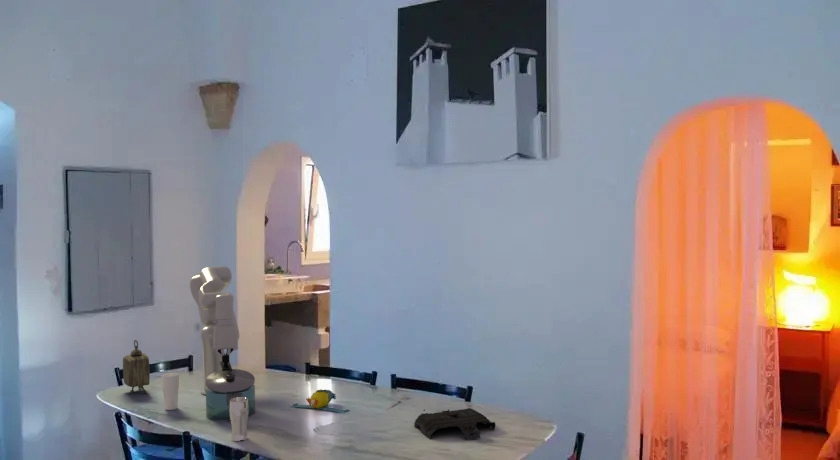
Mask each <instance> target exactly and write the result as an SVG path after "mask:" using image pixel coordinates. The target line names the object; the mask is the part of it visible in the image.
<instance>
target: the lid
mask: <svg viewBox="0 0 840 460" xmlns="http://www.w3.org/2000/svg"><path fill="white" fill-rule="evenodd" d="M231 365H232V364H231V362H230V361H229V362H228V364H225V365H224V364H223V363H222V362H220V367H221V371H217V372H214V373H212V374H210V375H209V376H208V377H207V378H206V387H207V388H208V389H210V390H212V391H214V392H218V393H237V392H242V391H245V390H247V389H249V388H251V387H252V386H253V385H255V381H256V380H255V376H254V375H253V373H251V372H249V371H246V370H244V369H243V370H242V369H235V368H232V366H231Z"/></svg>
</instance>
